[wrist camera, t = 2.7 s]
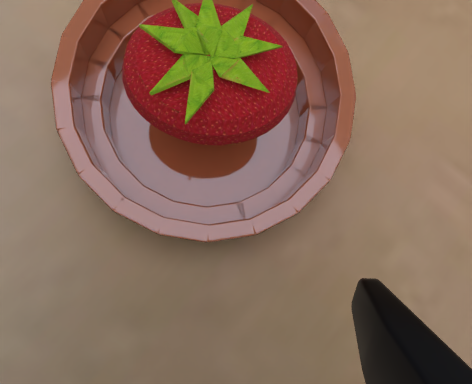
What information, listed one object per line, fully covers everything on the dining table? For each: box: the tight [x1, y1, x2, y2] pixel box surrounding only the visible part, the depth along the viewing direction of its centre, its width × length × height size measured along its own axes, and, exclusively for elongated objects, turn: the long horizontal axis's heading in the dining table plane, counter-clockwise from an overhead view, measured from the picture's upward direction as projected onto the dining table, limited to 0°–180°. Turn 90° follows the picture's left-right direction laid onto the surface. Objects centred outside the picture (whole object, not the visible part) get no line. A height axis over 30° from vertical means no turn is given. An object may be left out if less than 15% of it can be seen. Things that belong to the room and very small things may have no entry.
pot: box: [51, 0, 356, 242], centre depth 21 cm, size 14×14×5 cm
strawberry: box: [122, 0, 298, 146], centre depth 18 cm, size 6×8×10 cm
